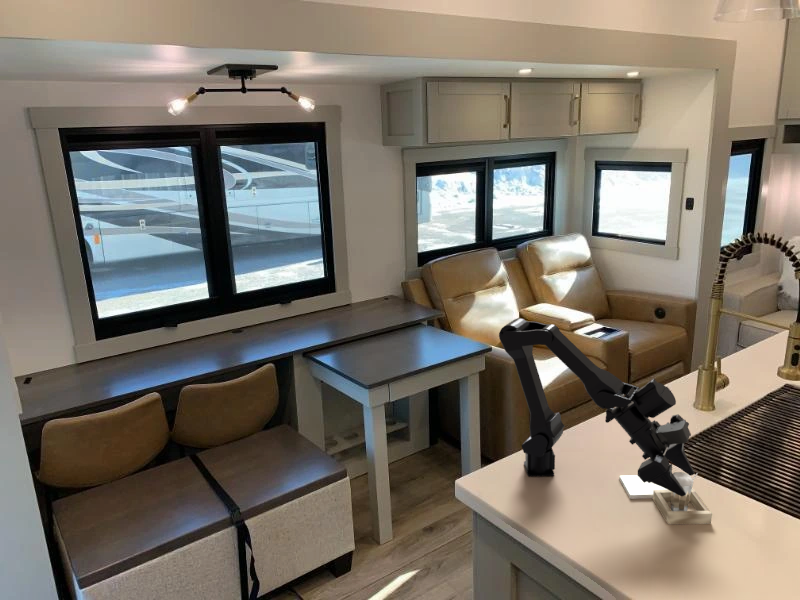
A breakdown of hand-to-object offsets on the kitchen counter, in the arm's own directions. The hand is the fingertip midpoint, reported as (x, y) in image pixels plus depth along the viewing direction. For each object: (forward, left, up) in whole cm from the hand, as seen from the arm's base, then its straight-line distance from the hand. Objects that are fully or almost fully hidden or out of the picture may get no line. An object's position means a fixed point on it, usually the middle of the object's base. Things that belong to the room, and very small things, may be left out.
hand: (688, 484), depth 132 cm
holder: (-1, +1, -7) cm, 7 cm away
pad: (-5, +10, -7) cm, 13 cm away
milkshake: (-1, +1, -7) cm, 7 cm away
